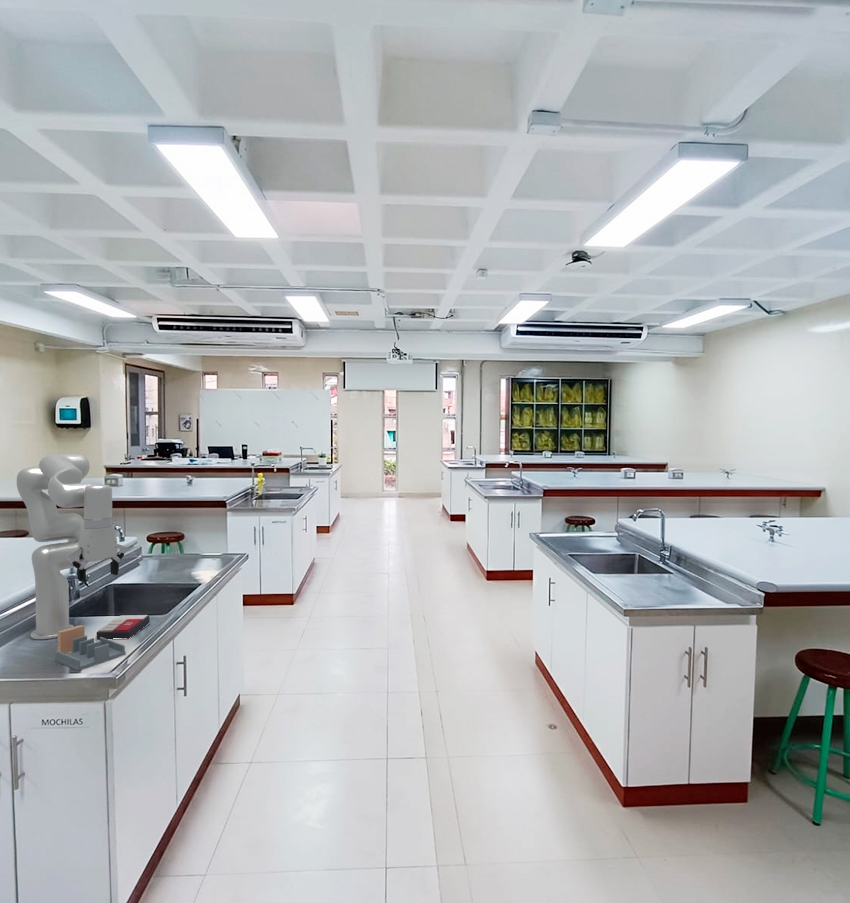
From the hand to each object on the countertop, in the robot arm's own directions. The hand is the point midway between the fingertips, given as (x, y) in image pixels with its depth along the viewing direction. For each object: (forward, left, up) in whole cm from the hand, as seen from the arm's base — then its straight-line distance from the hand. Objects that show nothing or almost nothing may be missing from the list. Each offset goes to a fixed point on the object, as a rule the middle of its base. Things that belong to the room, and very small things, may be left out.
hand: (98, 577), depth 163 cm
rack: (-1, -2, -25) cm, 25 cm away
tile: (-13, -2, -25) cm, 28 cm away
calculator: (-15, +16, -25) cm, 33 cm away
